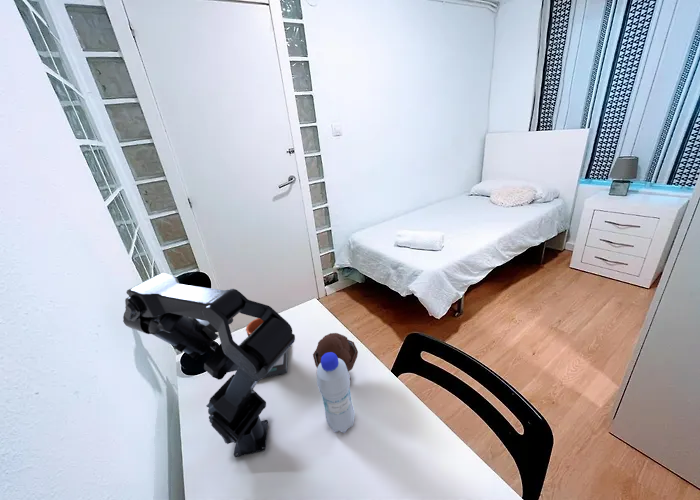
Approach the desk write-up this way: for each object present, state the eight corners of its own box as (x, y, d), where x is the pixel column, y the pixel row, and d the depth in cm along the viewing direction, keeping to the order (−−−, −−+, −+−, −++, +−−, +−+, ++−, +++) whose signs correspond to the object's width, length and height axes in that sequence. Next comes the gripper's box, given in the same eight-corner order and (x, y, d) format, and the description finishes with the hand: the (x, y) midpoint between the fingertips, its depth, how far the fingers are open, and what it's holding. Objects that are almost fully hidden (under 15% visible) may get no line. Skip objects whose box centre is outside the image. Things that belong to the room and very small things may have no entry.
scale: (286, 373, 76) (285, 367, 75) (249, 381, 75) (247, 375, 74) (288, 342, 87) (287, 337, 86) (255, 348, 86) (254, 344, 85)
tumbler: (280, 362, 77) (271, 331, 72) (254, 367, 76) (243, 337, 72) (281, 344, 83) (273, 314, 79) (257, 349, 83) (248, 319, 78)
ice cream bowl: (361, 397, 67) (355, 351, 60) (316, 400, 68) (305, 354, 61) (361, 362, 76) (355, 319, 70) (321, 364, 77) (312, 322, 71)
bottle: (330, 441, 58) (314, 374, 50) (324, 413, 64) (309, 348, 56) (360, 431, 60) (350, 364, 51) (351, 403, 66) (341, 339, 57)
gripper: (236, 314, 54) (274, 346, 65) (188, 283, 64) (229, 316, 75) (191, 367, 49) (241, 391, 60) (147, 325, 59) (197, 352, 70)
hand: (227, 358), depth 66 cm, fingers open, 9 cm apart
